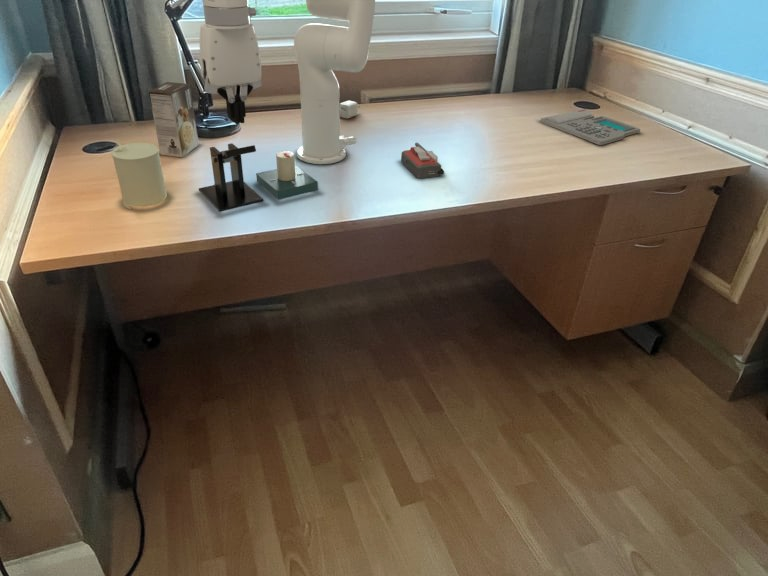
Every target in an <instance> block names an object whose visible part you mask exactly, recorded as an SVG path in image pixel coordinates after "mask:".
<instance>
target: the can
mask: <svg viewBox="0 0 768 576" xmlns="http://www.w3.org/2000/svg"><path fill="white" fill-rule="evenodd" d="M111 157H112V159H113V164H114V167H115V171H116V172H115V173H116V175H117V180H118V183H119V188H120V193H121V197H122V205H123V206H124V208H126V209H128V210H131V211H132V210H133V209H132V207H136V208H137V207H139V208H141V207H143V208H144V207H150V206H154V205H158V204H160V203H162V202H164V201H165V200H166V199H167V197H168V194H167V189H166V185H165V180H164V174H163V168H162V164H161V157H160V148H159V146H158V145H156V144H153V143H149V142H130V143H125V144H122V145H119V146H117V147H115V148H113V149H112V151H111Z"/></svg>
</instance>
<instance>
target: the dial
mask: <svg viewBox="0 0 768 576" xmlns="http://www.w3.org/2000/svg"><path fill="white" fill-rule="evenodd" d="M295 159H296V157H295V153H294V152H293V151H289V150H281V151H278V152H276V154H275V160H276V169H277V175H278V179H279V180H282V181H290V180H293V179H295V165H296V160H295Z"/></svg>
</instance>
